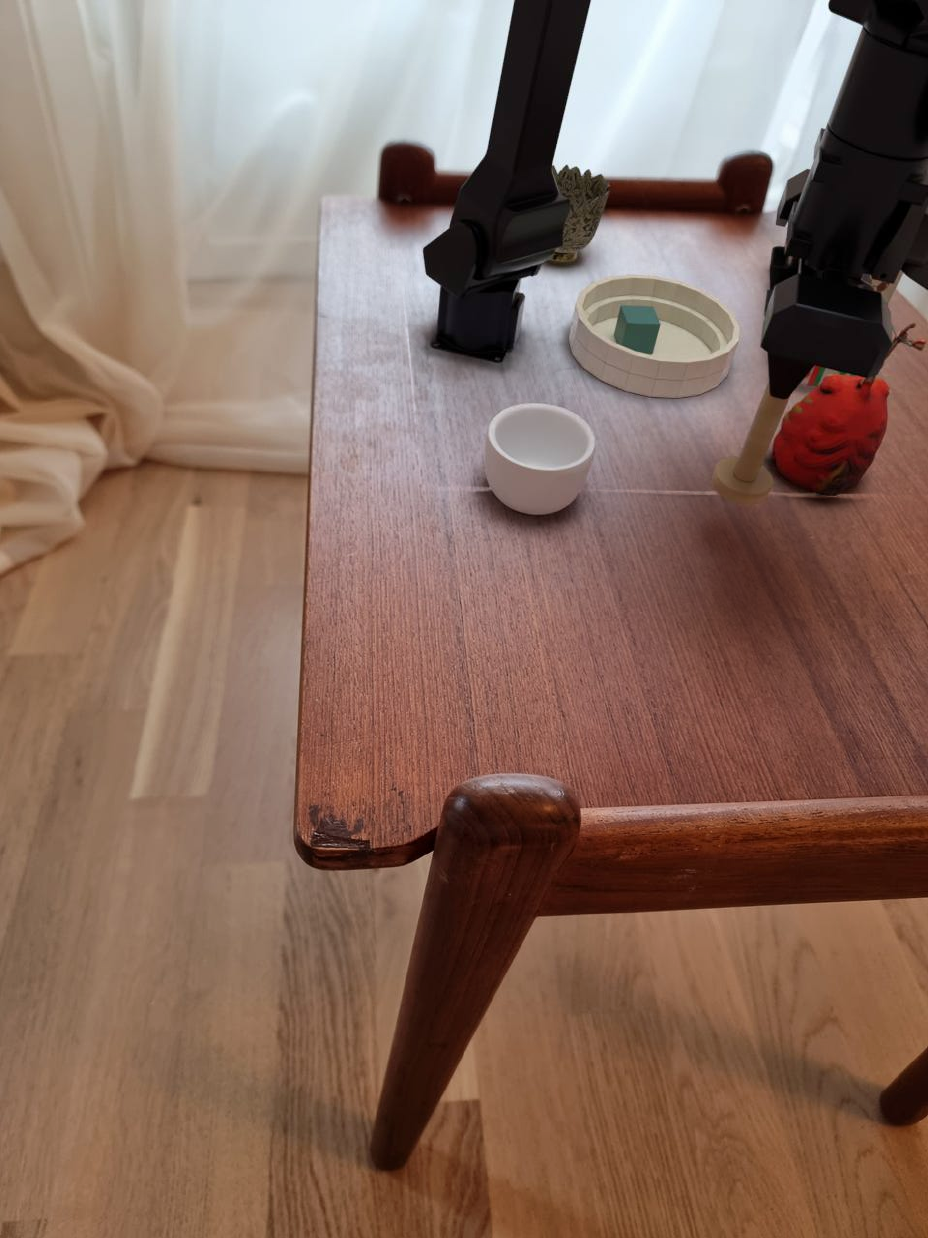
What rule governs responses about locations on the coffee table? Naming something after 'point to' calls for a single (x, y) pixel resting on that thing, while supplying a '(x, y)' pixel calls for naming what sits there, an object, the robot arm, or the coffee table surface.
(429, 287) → the coffee table surface
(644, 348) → the block
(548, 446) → the teacup
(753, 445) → the tan rod with disc
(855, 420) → the red clay folk toy
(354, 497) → the coffee table surface
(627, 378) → the bowl
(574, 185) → the cup
